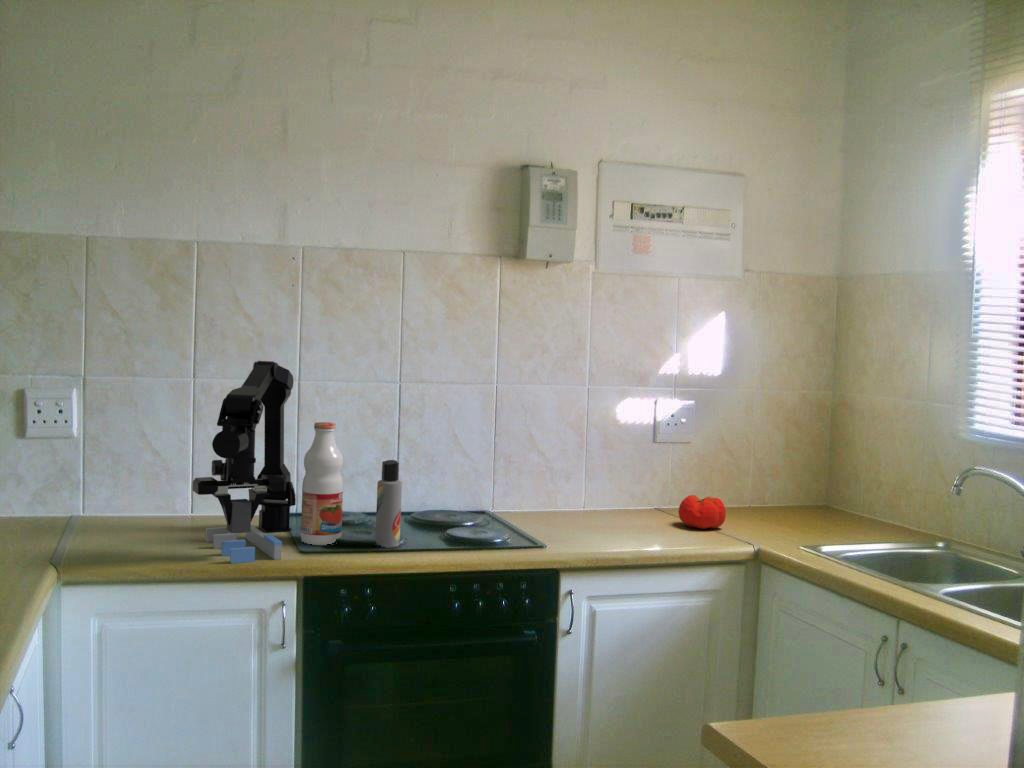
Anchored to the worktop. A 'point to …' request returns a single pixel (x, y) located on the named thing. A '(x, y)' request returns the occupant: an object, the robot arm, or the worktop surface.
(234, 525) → the dark grey rectangular block
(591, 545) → the worktop surface
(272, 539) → the grey and blue blocks
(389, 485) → the lotion bottle
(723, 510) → the tomato
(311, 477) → the fruit juice
